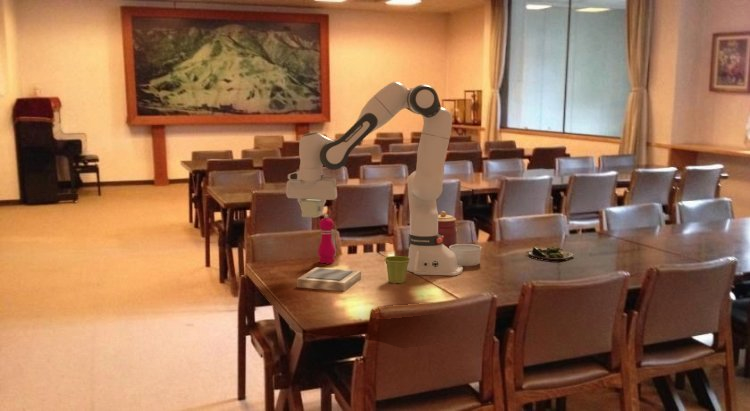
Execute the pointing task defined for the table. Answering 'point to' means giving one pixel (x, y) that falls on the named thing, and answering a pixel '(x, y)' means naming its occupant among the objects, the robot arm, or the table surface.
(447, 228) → the canister
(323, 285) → the plinth
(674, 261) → the table surface
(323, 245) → the pepper mill
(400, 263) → the plant pot
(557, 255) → the salad plate
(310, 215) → the sage cube
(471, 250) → the ramekin
